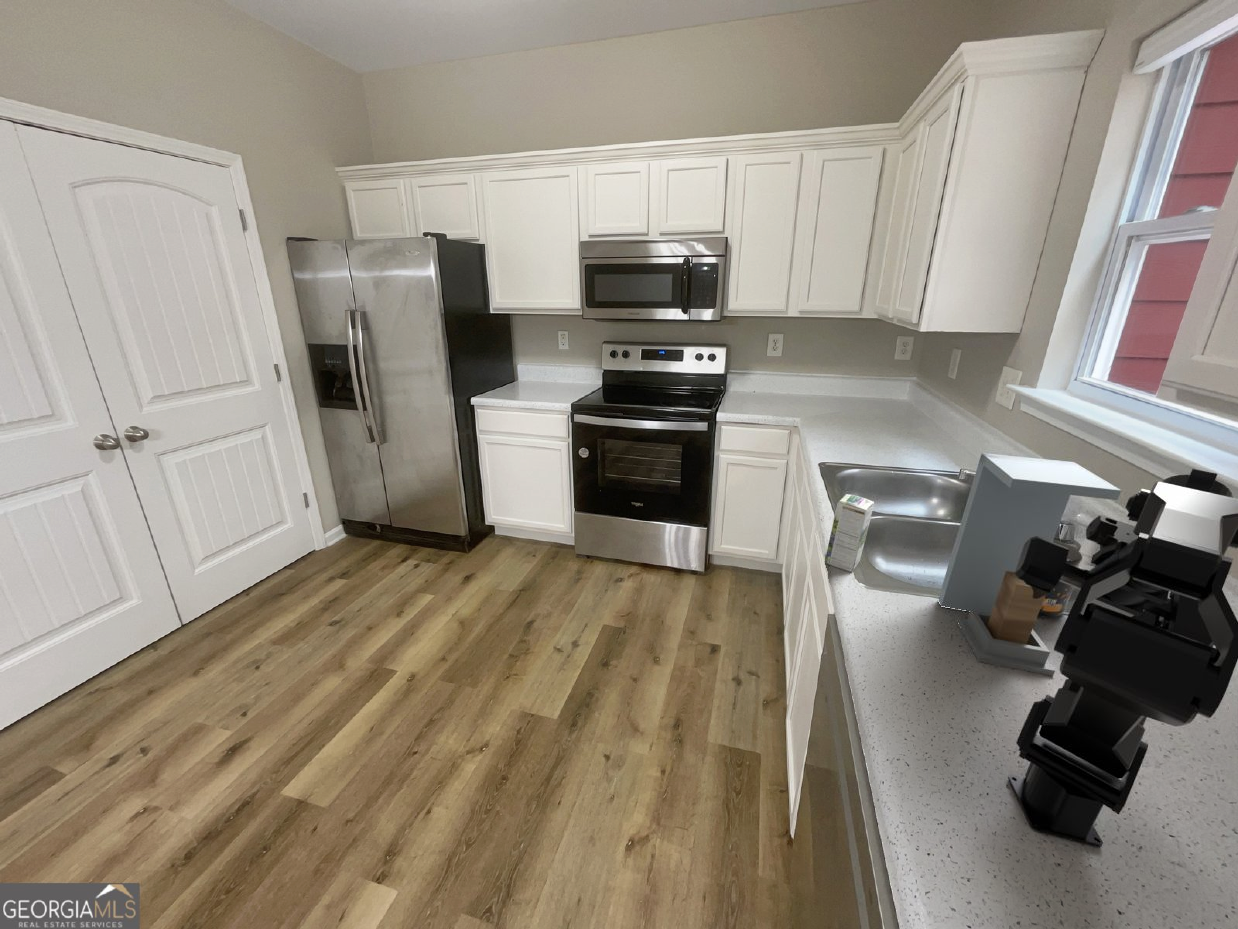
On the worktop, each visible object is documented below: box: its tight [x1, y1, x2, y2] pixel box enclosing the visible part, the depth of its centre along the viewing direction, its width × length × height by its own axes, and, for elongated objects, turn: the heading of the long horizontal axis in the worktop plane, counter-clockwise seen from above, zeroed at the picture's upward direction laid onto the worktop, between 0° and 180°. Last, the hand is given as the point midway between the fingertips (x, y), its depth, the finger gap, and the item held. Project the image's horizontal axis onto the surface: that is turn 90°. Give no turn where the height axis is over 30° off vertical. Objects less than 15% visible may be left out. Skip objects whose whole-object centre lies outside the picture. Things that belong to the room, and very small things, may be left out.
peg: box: [986, 571, 1045, 645], centre depth 80 cm, size 4×4×12 cm
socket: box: [957, 610, 1056, 677], centre depth 82 cm, size 10×10×4 cm
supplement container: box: [1037, 539, 1083, 618], centre depth 92 cm, size 10×10×12 cm
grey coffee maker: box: [937, 452, 1122, 614], centre depth 81 cm, size 12×13×30 cm
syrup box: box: [824, 493, 875, 573], centre depth 103 cm, size 6×6×14 cm
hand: (1073, 612), depth 69 cm, fingers open, 9 cm apart
